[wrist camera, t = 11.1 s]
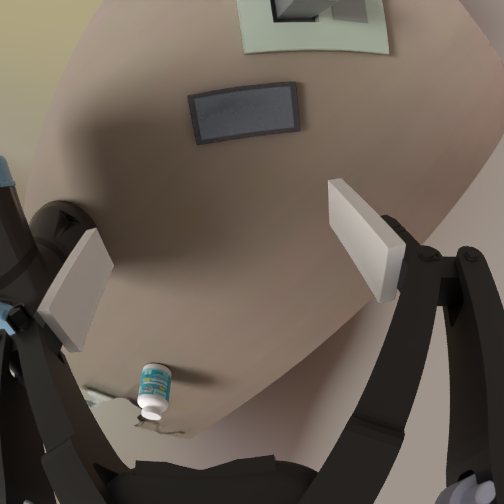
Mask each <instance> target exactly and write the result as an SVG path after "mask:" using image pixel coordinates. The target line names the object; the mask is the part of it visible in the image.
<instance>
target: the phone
mask: <svg viewBox="0 0 504 504" xmlns="http://www.w3.org/2000/svg"><path fill="white" fill-rule="evenodd" d="M188 102H189V107H190V112H191V118H192V123H193V129H194V134H195V139H196V144H197V145H201V144H207V143H212V142H218V141H224V140H230V139H237V138H243V137H251V136H258V135H266V134H275V133H284V132H295V131H300V123H299V112H298V101H297V91H296V82H280V83H268V84H258V85H249V86H241V87H234V88H227V89H221V90H215V91H209V92H204V93H198V94H193V95H189V96H188Z"/></svg>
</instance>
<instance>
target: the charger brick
mask: <svg viewBox="0 0 504 504" xmlns="http://www.w3.org/2000/svg"><path fill="white" fill-rule="evenodd" d="M338 2H339V0H273V3H274V9H275V15H276V20H295V19H304V20H310V19H311V18H313V17H314V16H316V15H318V14H319V13H321V12H322V11H324V10H326V9H327V8H329V7H331V6H332V5H334V4H336V3H338Z"/></svg>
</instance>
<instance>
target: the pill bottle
mask: <svg viewBox="0 0 504 504" xmlns="http://www.w3.org/2000/svg"><path fill="white" fill-rule="evenodd" d="M170 384H171V371H170V370H169V369H168V368H167V367H165V366H163V365H161V364H155V363H152V364H147V365H146V366H144V368H143V372H142V377H141V383H140V389H139V395H138V404H139V406H140V407H141V408H143V409H142V416H143V417H145V418H147V419H151V420H159V419H161V416H162V413H161V412H164V411H165V410H167V408H168V403H169V393H170Z"/></svg>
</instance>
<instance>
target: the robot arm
mask: <svg viewBox="0 0 504 504" xmlns="http://www.w3.org/2000/svg"><path fill="white" fill-rule="evenodd" d="M328 196H329V225H330V226H331V228H332V229H333V231H334V232H335V234H336V235H337V237H338V238H339V240H340V241H341V243H342V244H343V246H344V247H345V249H346V251H347V252H348V254H349V255H350V257H351V258H352V260H353V262H354V263H355V265H356V266H357V268H358V270H359V271H360V273H361V274H362V276H363V278H364V279H365V281H366V283H367V284H368V286H369V288H370V289H371V291H372V293H373V294H374V296H375V298H376V300H377V301H378V303H379V304H380V303H384V302H387V301H391V300H394V299H395V296H396V292H397V289H398V290H399V291H400V293H401V294H400V296H399V300H398V303H397V306H396V309H395V312H394V315H393V318H392V322H391V325H390V327H389V330H388V333H387V335H386V338H385V341H384V344H383V346H382V349H381V351H380V354H379V357H378V359H377V362H376V364H375V366H374V369H373V371H372V374H371V376H370V378H369V380H368V383H367V385H366V387H365V390H364V392H363V394H362V396H361V398H360V400H359V402H358V405H357V407H356V408H355V411H354V413H353V414H352V416H351V417H350V419H349V421H348V422H347V424H346V426H345V428H344V430H343V432H342V433H341V435H340V437H339V439H338V441H337V443H336V444H335V446H334V448H333V450H332V451H331V453H330V455H329V456H328V458H327V460H326V462H325V463H324V465H323V466H322V468H321V469H320V471H319V473H318V472H317V471H315V470H313V469H311V468H309V467H306V466H303V465H300V464H296V463H293V462H287V461H277V460H276V459H275V456H274V455H269V456H261V457H255V458H246V459H237V460H234V461H231V462H228V463H224V464H221V465H218V466H215V467H211V468H208V469H204V470H196V469H192V468H187V467H183V466H179V465H175V464H171V463H168V462H152V461H137V460H136V466H135V468H133V469H129V468H128V467H127V466H126V465H125V464H124V463H123V462H122V461H121V460H120V458H119V457H118V456H117V454H116V452H115V451H114V449H113V448H112V446H111V445H110V443H109V441H108V440H107V438H106V437H105V435H104V433H103V432H102V430H101V428H100V427H99V425H98V423H97V421H96V420H95V418H94V416H93V414H92V412H91V410H90V409H89V407H88V405H87V403H86V401H85V399H84V397H83V395H82V393H81V391H80V389H79V387H78V385H77V383H76V380H75V378H74V376H73V374H72V372H71V369H70V367H69V365H68V362H67V360H66V358H65V355H64V354H63V353H62V352H61V347H62V344H63V345H64V347H65V348H66V349H67V350H68V351H69V352H81V351H82V348H83V345H84V342H85V339H86V336H87V333H88V330H89V327H90V325H91V322H92V319H93V316H94V314H95V311H96V309H97V306H98V303H99V301H100V298H101V296H102V293H103V291H104V288H105V286H106V284H107V281H108V279H109V277H110V274H111V272H112V270H113V267H114V264H113V262H112V260H111V258H110V256H109V254H108V252H107V250H106V248H105V246H104V243H103V241H102V239H101V237H100V234H99V231H98V229H97V227H96V225H95V224H94V222H93V221H92V220H91V218H90V217H89V216H88V215H87V214H86V213H85V212H84V211H83V210H81V209H80V208H78V207H77V206H75V205H73V204H71V203H68V202H63V201H54V202H50V203H47V204H45V205H44V206H43V207H41V208H40V209H39V210H38V211H37V212H36V213H35V215H34V216H33V217H32V219H31V221H30V224H29V225H28V223H27V220H26V217H25V215H24V212H23V209H22V207H21V204H20V201H19V198H18V194H17V191H16V188H15V182H14V181H13V179H12V176H11V173H10V170H9V167H8V164H7V161H6V159H5V158H4V157H3V156H2V155H0V504H56V499H55V495H56V497H57V499H58V500H59V502H60V504H373V503H374V501H375V499H376V498H377V496H378V494H379V492H380V490H381V488H382V487H383V485H384V483H385V481H386V479H387V477H388V475H389V472H390V470H391V468H392V466H393V464H394V462H395V460H396V457H397V455H398V453H399V450H400V448H401V445H402V443H403V440H404V436H405V433H404V428H405V425H406V422H407V419H408V417H409V414H410V411H411V408H412V405H413V402H414V399H415V396H416V393H417V390H418V386H419V383H420V380H421V376H422V373H423V369H424V365H425V361H426V357H427V353H428V349H429V344H430V340H431V335H432V330H433V325H434V320H435V314H436V308H437V306H443V312H444V319H445V327H446V335H447V345H448V357H449V375H450V424H449V425H450V426H449V441H448V452H447V465H446V466H447V467H446V487H447V488H446V489H444V490H443V491H442V492H441V493H440V495H439V496H438V498H437V500H436V502H435V504H504V309H503V306H502V303H501V299H500V296H499V293H498V291H497V288H496V285H495V282H494V280H493V277H492V274H491V272H490V269H489V267H488V264H487V262H486V259H485V257H484V255H483V254H482V253H481V252H480V251H479V250H478V249H476V248H474V247H469V246H463V247H461V248H459V250H458V252H457V255H456V257H442V255H441V254H440V252H439V251H438V250H436V249H434V248H432V247H430V246H424V245H422V246H421V245H420V244H419V243H418V242H417V241H416V240H415V239H414V238H413V237H412V236H411V235H410V233H409V232H408V231H406V229H405V228H404V227H403V226H401V224H400V223H399V222H398V221H397V220H396V219H394V218H392V217H390V216H388V215H382V216H379V215H378V214H377V213H376V212H375V211H374V210H373V209H372V208H371V207H370V206H369V205H368V204H367V203H366V202H365V201H364V200H363V199H362V198H361V197H360V196H359V195H358V194H357V193H356V192H355V191H354V190H353V189H352V188H351V187H350V186H349V185H348V184H347V183H346V182H345V181H343V180H342V179H341V178H338V179H331V180H328ZM10 369H11V370H12V371H13V372H14V373H15V377H13V375H12V374H11V372H10ZM43 444H44V446H45V449H46V452H47V453H45V452H44V446H43ZM54 492H55V495H54Z"/></svg>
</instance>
